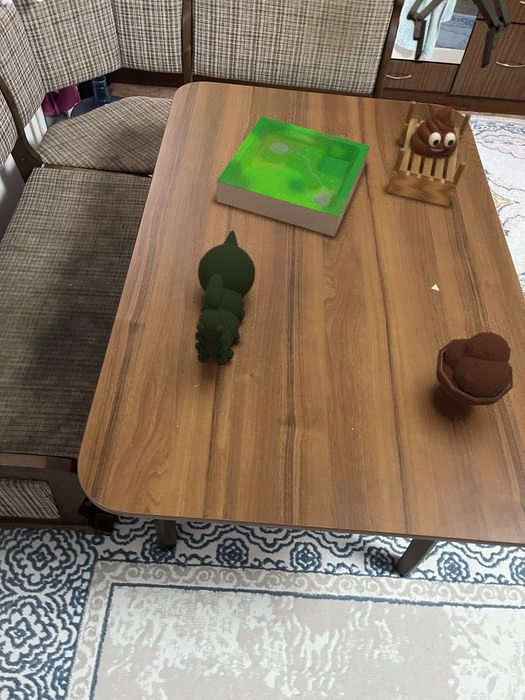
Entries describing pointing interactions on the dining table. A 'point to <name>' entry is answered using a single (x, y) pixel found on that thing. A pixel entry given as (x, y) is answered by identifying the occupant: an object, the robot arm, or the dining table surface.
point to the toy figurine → (222, 299)
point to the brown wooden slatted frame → (425, 168)
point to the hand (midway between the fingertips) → (451, 61)
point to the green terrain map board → (293, 175)
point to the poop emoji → (435, 135)
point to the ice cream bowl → (473, 373)
